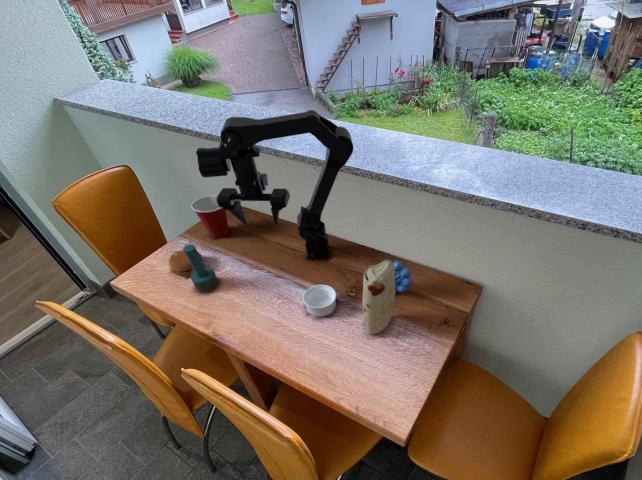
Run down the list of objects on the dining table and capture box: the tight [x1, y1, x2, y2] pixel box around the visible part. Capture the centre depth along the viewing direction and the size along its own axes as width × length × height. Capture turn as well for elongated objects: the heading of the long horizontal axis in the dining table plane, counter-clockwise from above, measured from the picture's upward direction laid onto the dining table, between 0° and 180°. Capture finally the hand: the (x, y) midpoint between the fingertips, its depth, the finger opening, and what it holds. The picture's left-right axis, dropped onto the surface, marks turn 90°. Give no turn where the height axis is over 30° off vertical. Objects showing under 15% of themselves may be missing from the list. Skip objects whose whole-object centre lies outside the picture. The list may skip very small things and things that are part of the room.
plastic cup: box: [190, 195, 230, 239], centre depth 115 cm, size 11×11×12 cm
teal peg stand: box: [182, 244, 220, 294], centre depth 97 cm, size 6×6×14 cm
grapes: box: [382, 258, 414, 294], centre depth 95 cm, size 12×7×12 cm, turn 59°
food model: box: [361, 260, 396, 336], centre depth 83 cm, size 10×7×20 cm
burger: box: [168, 249, 204, 278], centre depth 106 cm, size 10×9×5 cm
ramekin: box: [302, 284, 337, 318], centre depth 94 cm, size 9×9×4 cm
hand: (261, 223), depth 100 cm, fingers open, 9 cm apart
